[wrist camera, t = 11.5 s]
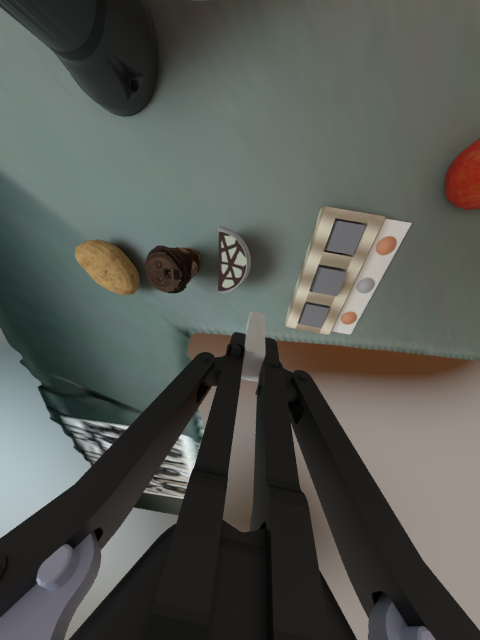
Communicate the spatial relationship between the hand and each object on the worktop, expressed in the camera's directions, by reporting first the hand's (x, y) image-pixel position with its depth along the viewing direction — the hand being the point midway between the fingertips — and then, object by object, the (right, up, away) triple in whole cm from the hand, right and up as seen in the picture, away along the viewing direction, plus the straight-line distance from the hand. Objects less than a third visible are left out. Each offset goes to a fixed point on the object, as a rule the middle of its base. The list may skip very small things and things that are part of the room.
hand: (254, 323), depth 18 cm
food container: (-2, +15, +23) cm, 27 cm away
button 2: (+19, +17, +18) cm, 31 cm away
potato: (-31, +14, +27) cm, 44 cm away
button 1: (+17, +3, +26) cm, 31 cm away
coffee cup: (-14, +15, +24) cm, 32 cm away
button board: (+18, +10, +22) cm, 30 cm away
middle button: (+18, +10, +21) cm, 29 cm away
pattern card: (+27, +9, +22) cm, 36 cm away
